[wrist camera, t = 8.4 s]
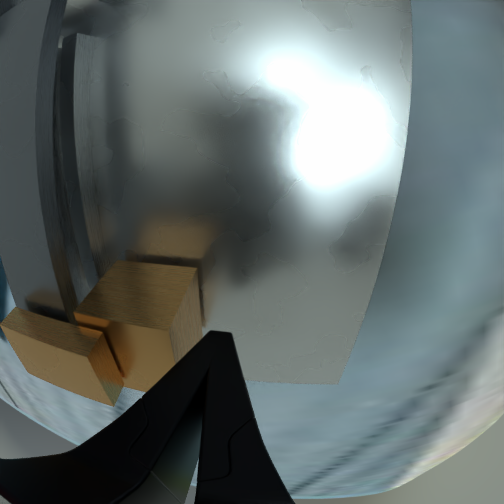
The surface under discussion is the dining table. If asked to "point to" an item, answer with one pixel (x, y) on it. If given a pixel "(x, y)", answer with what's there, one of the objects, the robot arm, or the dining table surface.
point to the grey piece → (238, 160)
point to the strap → (31, 160)
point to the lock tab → (114, 332)
